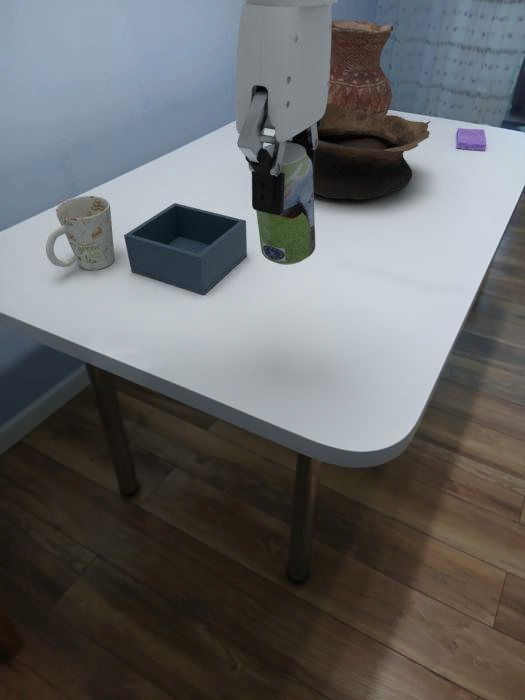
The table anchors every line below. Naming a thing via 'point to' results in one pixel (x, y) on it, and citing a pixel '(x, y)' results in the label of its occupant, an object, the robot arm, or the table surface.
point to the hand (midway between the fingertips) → (283, 197)
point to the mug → (84, 232)
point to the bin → (187, 247)
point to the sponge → (471, 139)
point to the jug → (358, 67)
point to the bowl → (363, 153)
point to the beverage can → (291, 211)
